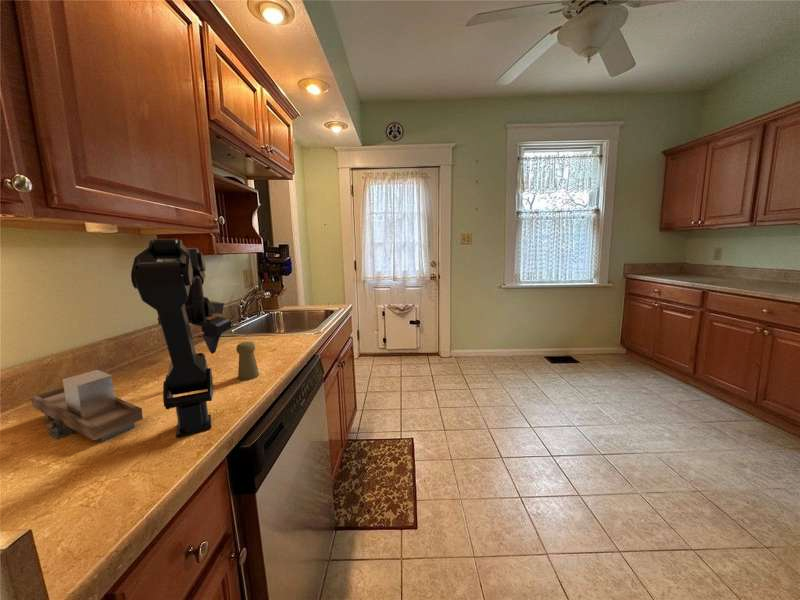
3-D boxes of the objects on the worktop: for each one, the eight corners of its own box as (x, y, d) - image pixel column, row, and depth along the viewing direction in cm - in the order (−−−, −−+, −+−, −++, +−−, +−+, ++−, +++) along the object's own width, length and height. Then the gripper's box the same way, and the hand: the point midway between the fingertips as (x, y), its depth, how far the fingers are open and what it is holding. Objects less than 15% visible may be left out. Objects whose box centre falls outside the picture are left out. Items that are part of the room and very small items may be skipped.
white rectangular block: (115, 407, 74) (111, 375, 73) (82, 420, 69) (77, 385, 67) (101, 400, 76) (97, 369, 75) (67, 412, 71) (62, 379, 69)
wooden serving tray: (142, 419, 73) (141, 408, 72) (94, 440, 65) (92, 428, 64) (81, 391, 83) (80, 381, 82) (32, 407, 75) (30, 396, 74)
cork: (253, 380, 97) (250, 345, 95) (234, 380, 97) (230, 345, 95) (262, 372, 103) (259, 339, 101) (244, 372, 103) (240, 339, 101)
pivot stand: (152, 419, 75) (150, 407, 75) (80, 451, 64) (77, 437, 63) (95, 401, 85) (93, 390, 85) (24, 426, 73) (21, 414, 73)
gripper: (243, 292, 88) (248, 343, 93) (188, 283, 92) (196, 332, 98) (210, 305, 78) (218, 361, 83) (151, 294, 82) (162, 348, 87)
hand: (199, 349), depth 88 cm, fingers open, 9 cm apart
